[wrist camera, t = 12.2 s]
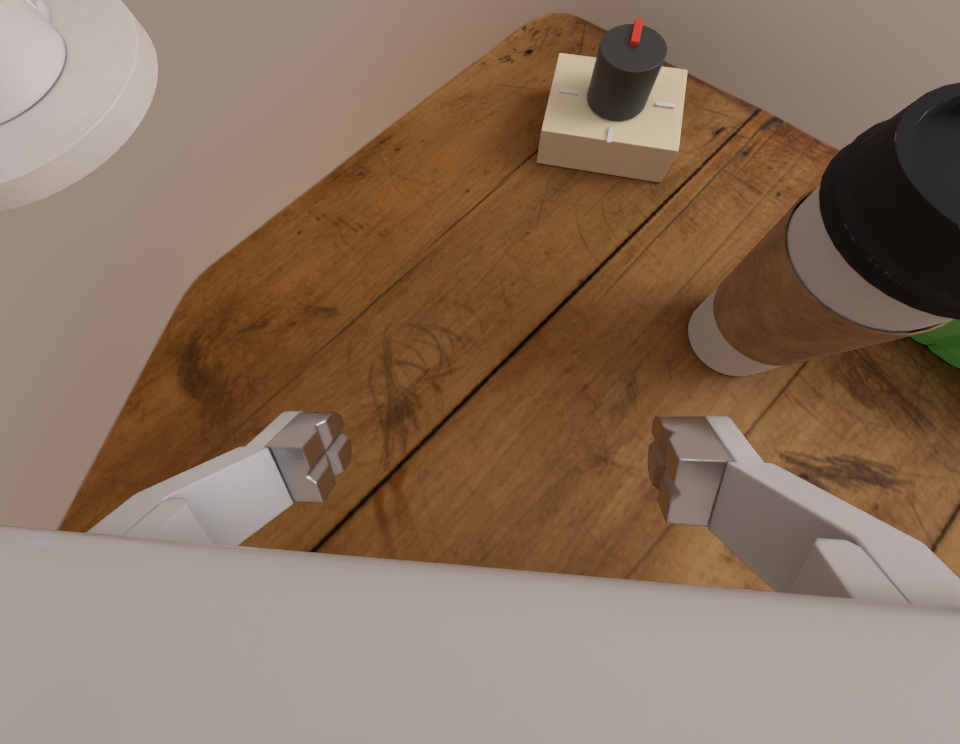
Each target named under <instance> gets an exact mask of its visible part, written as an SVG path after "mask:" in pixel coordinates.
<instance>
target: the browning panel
mask: <svg viewBox="0 0 960 744" xmlns="http://www.w3.org/2000/svg"><path fill="white" fill-rule="evenodd" d="M595 62H596V58H594V57H586V56H579V55H571V54H564V53H559V57H558V61H557V65H556V70H555V74H554V78H553V82H552V87H551V91H550V95H549V99H548V104H547V108H546V112H545V116H544V121H543V125H542V129H541V135H540V142H539V149H538V156H537V163H540V164H547V165H553V166H559V167H565V168H571V169H578V170H584V171H590V172H596V173H603V174H609V175H615V176H621V177H627V178H634V179H640V180H646V181H652V182H659V183H660V182H661V181H662V179H663V177H664V176H665V174H666V172H667V170H668V169H669V167H670V165H671V164H672V162H673V160H674V158H675V157H676V155H677V153H678V151H679V143H680V134H681V125H682V116H683V107H684V98H685V89H686V80H687V71H688V70H684V69H677V68H669V67H661V69H660V71H659V74H658V76H657V79H656V81H655V83H654V86H653V88H652V91H651V93H650V95H649V98H648V100H647V102H646V105H645V107H644V109H643V110H642V111H641V112H640V113H639V114H638V115H637V116H635V117H634V118H631V119H628V120H624V121H613V120H608V119H605V118H602V117H600V116H599V115H597V114H596V113H595V112H594V111H593V110H592V109H591V108H590V106H589V104H588V100H587V93H588V89H589V85H590V81H591V77H592V73H593V69H594V65H595Z"/></svg>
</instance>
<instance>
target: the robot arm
mask: <svg viewBox="0 0 960 744" xmlns="http://www.w3.org/2000/svg"><path fill="white" fill-rule="evenodd" d="M65 56H66V49H65V44H64V41H63V39H62V37H61V35H60V34H59V33H58V32H57V30H56V29H55V28H54V27H53V26H52V24H51V19H50V10H49V7H48V6H47V5H46V4H45V3H44V2H43V1H42V0H0V124H2V123H4V122H6V121H9V120H11V119H12V118H14V117H16V116H18V115H19V114H21V113H23V112H24V111H26V110H27V109H29V108H30V107H31V106H33V105H34V104H35V103H36V102H37V101H39V100H40V99H41V98H42V97H43V96H44V95H45V94H46V93H47V92H48V91H49V89H50V88H51V87H52V86H53V84H54V83H55V81H56V80H57V78H58V77H59V75H60V73H61V71H62V68H63V66H64V62H65ZM343 427H344V422H343V420H342V417H341V415H340V414H338V413H336V412H311V411H304V412H303V411H287V412H283V413H282V414H280V415H279V416H278V417H277V418H276V419H275V420H274V421H273V422H272V423H271V424H269V425H268V426H267V427H266V428H265V429H264V430H263V431H262V432H261V433H260V434H258V435H257V436H256V437H255V438H254V439H253V440H252V441H251V442H250V443H249V444H247V445H246V446H245V447H238V448H236V449H234V450H231V451H229V452H227V453H225V454H222V455H220V456H218V457H216V458H214V459H211V460H209V461H207V462H205V463H203V464H200V465H198V466H196V467H194V468H191V469H189V470H187V471H185V472H183V473H180V474H178V475H176V476H174V477H172V478H169V479H167V480H165V481H163V482H160V483H158V484H156V485H154V486H152V487H149V488H147V489H145V490H143V491H141V492H138V493H136V494H134V495H133V496H132V497H130V498H129V499H128V500H126V501H125V502H124V503H123V504H121V505H120V506H119V507H118V508H116V509H115V510H114V511H113V512H111V513H110V514H109V515H107V516H106V517H105V518H104V519H102V520H101V521H100V522H99V523H97V524H96V525H95V526H93V527H92V528H91V529H90V530H88V531H87V532H86V533H81V532H70V531H58V530H46V529H34V528H22V527H10V526H0V744H960V579H959V578H958V577H957V576H956V575H955V574H954V573H953V572H952V571H951V570H950V569H949V568H948V567H947V566H946V565H945V564H944V563H943V562H942V561H941V560H940V559H939V558H938V557H937V556H936V555H935V554H934V553H933V552H932V551H931V550H930V549H929V548H928V547H927V546H926V545H925V544H924V543H922V542H920V541H918V540H916V539H915V538H913V537H911V536H909V535H907V534H905V533H903V532H901V531H899V530H898V529H896V528H894V527H892V526H890V525H888V524H886V523H884V522H882V521H881V520H879V519H877V518H875V517H873V516H871V515H869V514H867V513H865V512H864V511H862V510H860V509H858V508H856V507H854V506H852V505H850V504H848V503H847V502H845V501H843V500H841V499H839V498H837V497H835V496H833V495H832V494H830V493H828V492H826V491H824V490H822V489H820V488H818V487H816V486H815V485H813V484H811V483H809V482H807V481H805V480H803V479H801V478H799V477H798V476H796V475H794V474H792V473H790V472H788V471H786V470H784V469H782V468H781V467H779V466H777V465H775V464H773V463H764V462H763V460H762V459H761V458H760V456H759V455H758V454H757V452H756V451H755V450H754V449H753V447H752V446H751V445H750V443H749V442H748V441H747V440H746V438H745V437H744V436H743V434H742V433H741V432H740V430H739V429H738V428H737V427H736V425H735V424H734V423H733V421H732V420H731V419H730V418H729V417H727V416H701V417H655V418H654V421H653V425H652V430H651V431H652V434H653V436H654V439H655V441H654V442H653V443H652V444H651V445H649V451H648V470H649V475H650V479H651V482H652V485H653V486H655V487H656V488H657V489H658V490H659V495H658V502H659V505H660V508H661V510H662V513H663V516H664V519H665V522H666V523H669V524H681V525H693V526H705V527H708V529H709V530H710V531H711V532H712V533H713V534H714V535H715V536H717V537H718V538H719V539H720V540H721V541H722V542H723V543H724V544H725V545H726V546H727V547H728V548H729V549H730V550H731V551H733V552H734V553H735V554H736V555H737V556H738V557H739V558H740V559H741V560H742V561H743V562H744V563H745V564H746V565H748V566H749V567H750V568H751V569H752V570H753V571H754V572H755V573H756V574H757V575H758V576H759V577H760V578H761V579H763V580H764V581H765V582H766V583H767V584H768V585H769V586H770V587H771V588H772V589H773V590H774V591H775V592H770V591H758V590H747V589H735V588H723V587H711V586H700V585H688V584H676V583H664V582H652V581H640V580H629V579H617V578H606V577H594V576H583V575H571V574H560V573H548V572H537V571H525V570H513V569H502V568H490V567H479V566H467V565H455V564H444V563H432V562H420V561H408V560H397V559H385V558H373V557H361V556H350V555H338V554H326V553H315V552H303V551H291V550H280V549H268V548H256V547H245V546H237V545H239V544H240V543H241V542H243V541H244V540H245V539H247V538H248V537H250V536H251V535H252V534H254V533H255V532H256V531H258V530H259V529H260V528H262V527H263V526H264V525H266V524H267V523H268V522H270V521H271V520H272V519H274V518H275V517H276V516H278V515H279V514H280V513H282V512H283V511H284V510H286V509H287V508H288V507H290V506H291V505H292V504H293V502H311V503H323V502H324V501H325V499H326V498H327V496H328V495H329V493H330V492H331V490H332V489H333V487H334V486H335V484H336V482H335V477H336V476H338V475H340V474H341V473H343V472H344V471H345V469H346V468H347V466H348V464H349V461H350V457H351V444H350V441H349V438H348V437H347V436H346V435H345V434H344V433H343V432H342V430H343Z"/></svg>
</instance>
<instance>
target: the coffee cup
mask: <svg viewBox="0 0 960 744" xmlns="http://www.w3.org/2000/svg"><path fill="white" fill-rule="evenodd" d="M955 319H957V320H960V83H955V84H950V85H946V86H942V87H940V88H938V89H935V90H933V91H930V92H928V93H926V94H924V95H923V96H922V97H920V98H919V99H917V100H916V101H914V102H913V103H912V104H910V105H909V106H907V107H906V108H905V109H903V110H902V111H901V112H899V113H898V114H896V115H895V116H894V117H892V118H891V119H888V120H886V121H883V122H881V123H878V124H876V125H874V126H872V127H871V128H869V129H868V130H866V131H865V132H863V133H862V134H861V135H859V136H858V137H857V138H856V139H855V140H854V141H853V142H852V143H851V144H849V145H847V146H846V147H845V148H843V149H842V150H840V152H839V153H838V154H837V155H836V156H835V157H834V158H833V159H832V160H831V161H830V163H829V165H828V167H827V168H826V170H825V172H824V174H823V176H822V180H821V184H820V185H819V186H818V187H817V188H814V189H813V190H811V191H810V192H808V193H807V194H805V195H804V196H802V197H801V198H800V199H799V200H798V201H797V203H796V204H795V205H794V206H793V207H792V208H791V209H790V210H789V211H788V212H787V213H786V214H785V215H784V216H783V217H782V219H781V220H780V221H779V222H778V223H777V224H776V225H775V226H774V227H773V228H772V229H771V230H770V231H769V232H768V233H767V235H766V236H765V237H764V238H763V239H762V240H761V241H760V242H759V243H758V244H757V245H756V246H755V247H754V248H753V250H752V251H751V252H750V253H749V254H748V255H747V256H746V257H745V258H744V259H743V260H742V261H741V262H740V263H739V264H738V266H737V267H736V268H735V269H734V270H733V271H732V272H731V273H730V274H729V275H728V276H727V277H726V278H725V279H724V281H723V282H722V283H721V284H720V285H719V286H718V287H717V288H716V289H715V290H714V291H713V292H712V293H711V294H710V295H709V296H708V297H707V298H706V299H705V300H704V301H703V302H702V303H701V304H700V305H699V307H698V308H697V309H696V310H695V311H694V312H693V314H692V316H691V318H690V321H689V324H688V336H689V341H690V344H691V347H692V349H693V350H694V352H695V354H696V355H697V356H698V357H699V359H700V360H701V361H702V362H703V363H705V364H706V365H707V366H708V367H710V368H711V369H713V370H715V371H717V372H719V373H722V374H725V375H730V376H748V375H753V374H757V373H761V372H765V371H768V370H772V369H775V368H779V367H783V366H787V365H792V364H797V363H801V362H805V361H809V360H813V359H818V358H822V357H826V356H830V355H834V354H838V353H842V352H847V351H851V350H855V349H859V348H863V347H867V346H872V345H876V344H880V343H884V342H888V341H892V340H897V339H901V338H905V337H909V336H913V335H917V334H921V333H926V332H930V331H932V330H934V329H937V328H939V327H941V326H944V325H945V324H947V323H948V322H949V321H951V320H955Z"/></svg>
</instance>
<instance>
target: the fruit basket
mask: <svg viewBox="0 0 960 744" xmlns="http://www.w3.org/2000/svg"><path fill="white" fill-rule="evenodd" d="M909 337H911V338H912V339H914V340H915V341H916V342H919V343H921V344H924V345H927V347H928V348H929V349H930V350H931V351H932V352H933V353H934V354H936V355H937V356H939V357H940V358H942V359H943V360H945V361H946V362H948V363H949V364H951V365H952V366H955V367H957V368H959V369H960V320H957V319H955V320H951V321H949V322H948V323H947V324H945V325H944V326H941V327H939V328H937V329H934V330H932V331H930V332H926V333H921V334H917V335H913V336H909Z"/></svg>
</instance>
